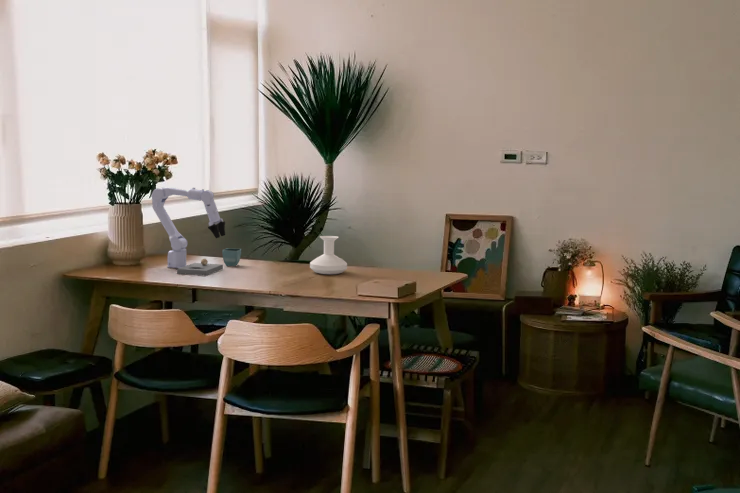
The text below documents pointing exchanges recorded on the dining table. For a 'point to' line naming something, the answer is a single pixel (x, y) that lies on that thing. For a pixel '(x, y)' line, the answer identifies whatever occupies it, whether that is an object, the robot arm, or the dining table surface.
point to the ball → (204, 261)
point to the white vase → (328, 259)
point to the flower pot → (231, 256)
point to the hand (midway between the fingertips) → (220, 236)
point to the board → (199, 269)
